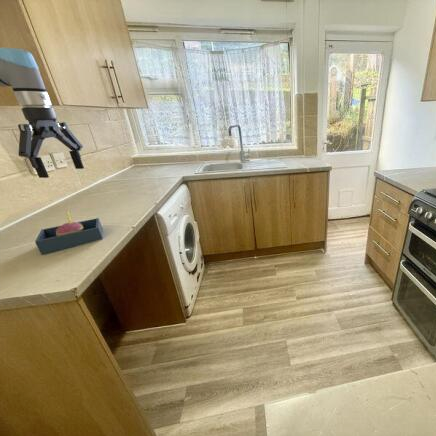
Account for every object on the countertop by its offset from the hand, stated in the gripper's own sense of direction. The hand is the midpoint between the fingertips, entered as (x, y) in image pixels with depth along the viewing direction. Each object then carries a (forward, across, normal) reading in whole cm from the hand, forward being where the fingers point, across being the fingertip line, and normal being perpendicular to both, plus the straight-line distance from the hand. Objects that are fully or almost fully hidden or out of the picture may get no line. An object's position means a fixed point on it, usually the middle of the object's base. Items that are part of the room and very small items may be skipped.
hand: (63, 172), depth 86 cm
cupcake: (+28, +1, +8) cm, 29 cm away
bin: (+28, +1, +8) cm, 29 cm away
